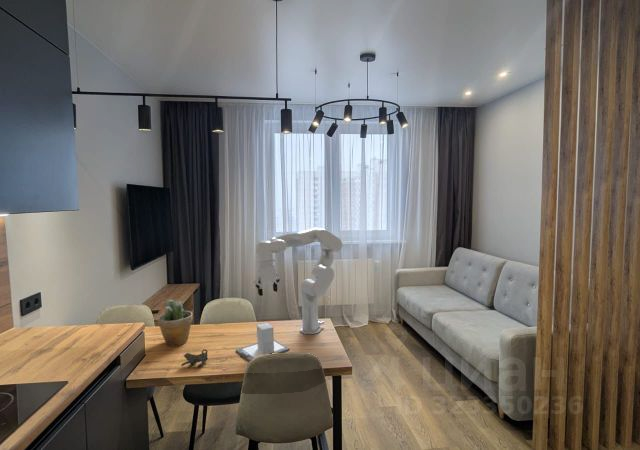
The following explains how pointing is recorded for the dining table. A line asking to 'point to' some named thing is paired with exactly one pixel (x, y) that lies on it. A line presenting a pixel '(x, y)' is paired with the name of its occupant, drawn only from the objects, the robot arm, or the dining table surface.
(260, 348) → the small box
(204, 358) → the dog figurine
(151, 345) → the dining table surface
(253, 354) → the writing board
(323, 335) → the dining table surface
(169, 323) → the potted plant
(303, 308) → the robot arm
